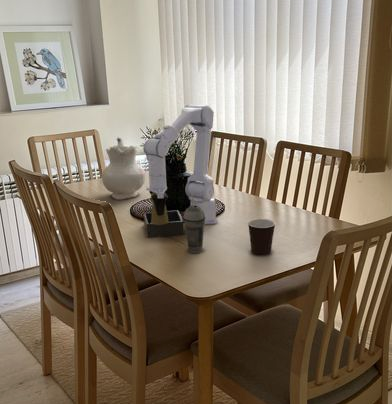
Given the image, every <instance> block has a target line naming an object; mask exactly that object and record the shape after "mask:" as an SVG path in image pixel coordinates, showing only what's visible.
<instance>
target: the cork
mask: <svg viewBox="0 0 392 404" xmlns="http://www.w3.org/2000/svg"><path fill="white" fill-rule="evenodd" d="M152 195H157V194H156V193H154V192H152V194H150V200H151V201H152V208H151V212H152V219H151V223H152V224H155V225H163V224H167V223H168V222H169V221H168V216H167V211H168V210H167V206H166V205H167V204H165V209H164V215H160V216H157V213H156V208H155V204H154V202H153V200H152V198H151V196H152ZM165 195H167V193H166V192H164V196H165Z"/></svg>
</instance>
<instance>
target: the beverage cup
mask: <svg viewBox="0 0 392 404" xmlns="http://www.w3.org/2000/svg"><path fill="white" fill-rule="evenodd" d="M191 195H192V206H191V205H190V206H188V207H187V208H186V209H185V211H184V213H183V217H182V220H183V224H184V226H185V234H186V235H185V236H186V242H187V248H188V252H189V253H190V254H200V253H202V252H203V247H204V246H203V245H204V229H205V224H204V223H205V214H204V211H203V210H202V209H201V208H200V207H198V206H194V201H193V192H191Z"/></svg>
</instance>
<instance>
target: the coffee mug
mask: <svg viewBox="0 0 392 404" xmlns="http://www.w3.org/2000/svg"><path fill="white" fill-rule="evenodd" d="M275 226H276V222H275V221H273V220H271V219H267V218H255V219H251V220H249V221H248V234H249V242H250V243H249V244H250V252H251V253H252V254H253V255H255V256H260V257H261V256H263V257H264V256H268V255H270V254H271V253H272V246H273V239H274V234H275V233H274V232H275V228H276V227H275Z"/></svg>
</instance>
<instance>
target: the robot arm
mask: <svg viewBox="0 0 392 404" xmlns="http://www.w3.org/2000/svg"><path fill="white" fill-rule="evenodd" d="M214 114H215V112H214V110H213V108H212V107H211V105H207V104H206V105H200V104H190V103H188V104H187V103H186V104H185V105H184V106H183V107H182V108H181V112H180V114H179V115H178V117H177V118H176V119H175V120H174V121H173V122H172V124H171V125H170V124H167V125H164V126H163V127H162V129H161V130H160V131H158V133H156V134H155V135H154V136H153V138H152V137H150V138H148V139H147V140H146V141H145V142H144V146H143V153H144V155H145V158H146V160H147V167H148V184H149V186H146V187H145V190H146V191H149V194H150V199H151V198H152V199H151V201H152V200H153V201H152V203H153V202H154V204H155V208H156V213H157V216H160V215H164V209H165V205H167V204H166V203H167V201H168V198H169V195H168V194H166V195H165V196H164V192H165V193H166V192H167V190H168V186H167V170H166V156H167V155H168V153H169V150H170V148H171V146H172V145H173V144H174V142H176V141H177V140H178V138H179V133H180V132H181V131H183V129H185V128H187V126H188V125H190V126H191V127H192V128H194V130H195V131H196V136H195V137H196V138H195V149H194V162H193V172H192V174H191V175H190V176H188V177H187V182H186V185H185V189H184V190H185V191H184V192H185V195H186V197H188V200H190V206H192V195H191V192H193V201H194V206H198V207H200V208H201V209H202V210H203V211H204V214H205V223H204V225H212V224H213V225H214V224H217V205H216V200H215V198H213V197H214V194H215V187H214V179H213V178H212V177H211V176H210V174H208V173H209V161H210V151H211V150H210V148H211V139H212V138H211V137H212V129H213V127H214ZM152 192H154V193H156V194H157V195H152V196H151V194H152Z"/></svg>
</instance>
